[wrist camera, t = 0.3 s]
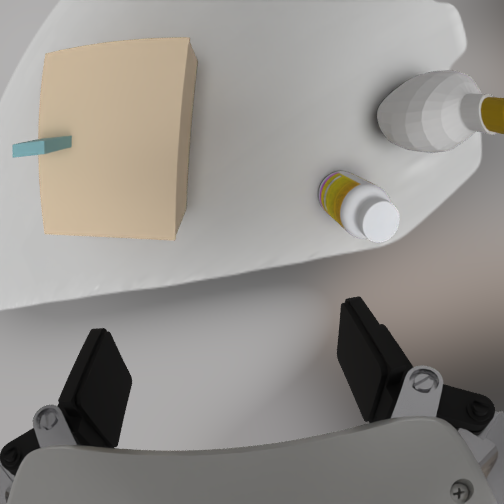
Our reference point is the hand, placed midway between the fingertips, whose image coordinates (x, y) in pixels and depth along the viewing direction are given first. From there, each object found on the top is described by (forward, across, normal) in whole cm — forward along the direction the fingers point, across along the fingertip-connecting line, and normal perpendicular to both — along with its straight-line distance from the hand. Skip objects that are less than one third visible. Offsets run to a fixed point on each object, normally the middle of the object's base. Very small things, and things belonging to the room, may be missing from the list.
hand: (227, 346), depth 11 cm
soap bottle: (+31, -27, -9) cm, 42 cm away
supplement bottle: (+31, -16, +3) cm, 35 cm away
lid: (+21, +11, -9) cm, 25 cm away
